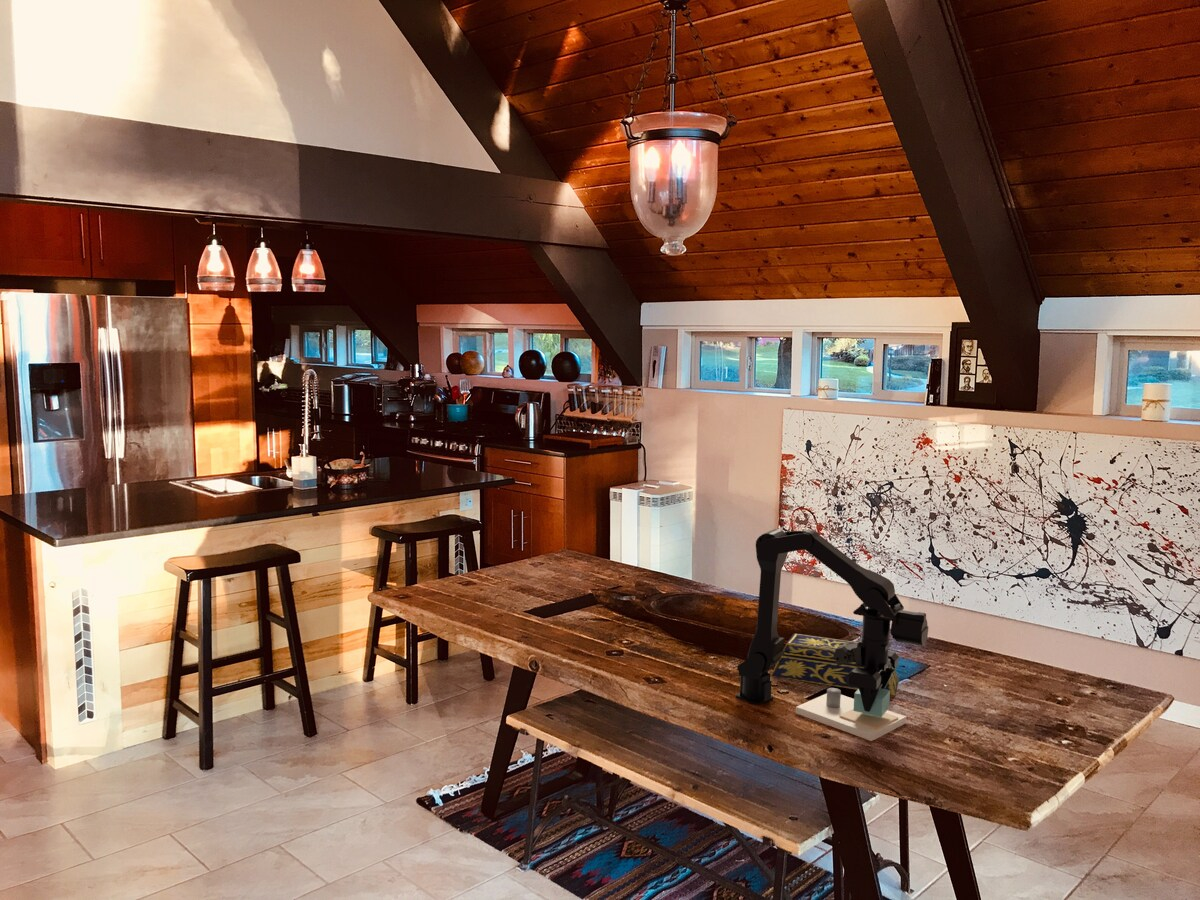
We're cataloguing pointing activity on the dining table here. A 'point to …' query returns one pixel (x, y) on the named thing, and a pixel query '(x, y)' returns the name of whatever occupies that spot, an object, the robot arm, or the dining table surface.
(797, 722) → the dining table surface
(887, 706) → the mint green cube
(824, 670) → the decorative box
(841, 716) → the board
